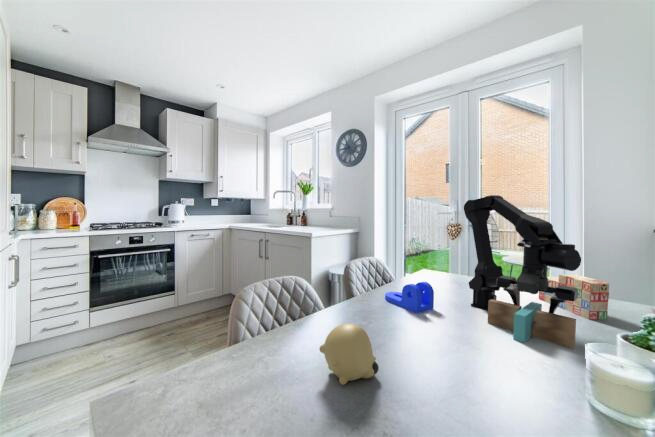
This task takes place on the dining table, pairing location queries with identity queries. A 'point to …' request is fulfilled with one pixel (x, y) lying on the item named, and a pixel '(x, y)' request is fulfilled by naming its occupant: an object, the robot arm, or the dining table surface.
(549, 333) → the walnut slotted board
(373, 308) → the dining table surface
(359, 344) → the toy pig
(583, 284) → the stack of blocks
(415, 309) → the bracket
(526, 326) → the teal slotted plate
